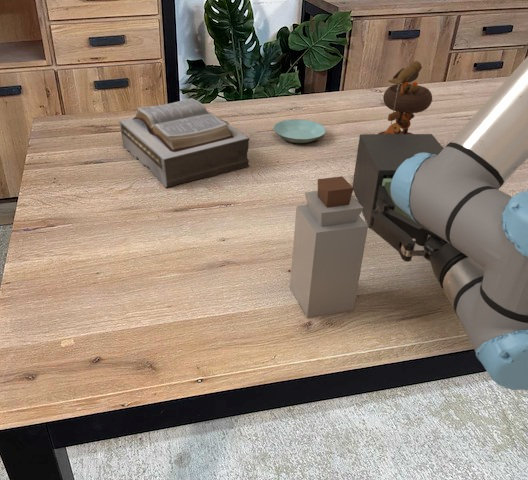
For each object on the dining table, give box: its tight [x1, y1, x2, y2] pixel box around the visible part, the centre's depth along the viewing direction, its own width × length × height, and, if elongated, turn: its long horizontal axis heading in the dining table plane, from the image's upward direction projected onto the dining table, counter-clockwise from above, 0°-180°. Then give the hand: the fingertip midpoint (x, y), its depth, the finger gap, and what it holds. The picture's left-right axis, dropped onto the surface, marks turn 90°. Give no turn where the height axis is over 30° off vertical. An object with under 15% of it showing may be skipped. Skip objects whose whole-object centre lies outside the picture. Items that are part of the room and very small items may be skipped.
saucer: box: [272, 118, 327, 144], centre depth 122 cm, size 12×12×2 cm
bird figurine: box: [377, 60, 433, 134], centre depth 110 cm, size 15×11×20 cm
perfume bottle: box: [289, 175, 369, 319], centre depth 70 cm, size 7×7×18 cm
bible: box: [118, 97, 250, 189], centre depth 113 cm, size 23×27×10 cm
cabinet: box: [351, 133, 445, 229], centre depth 93 cm, size 15×13×11 cm
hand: (420, 193), depth 84 cm, fingers closed on drawer, 12 cm apart
